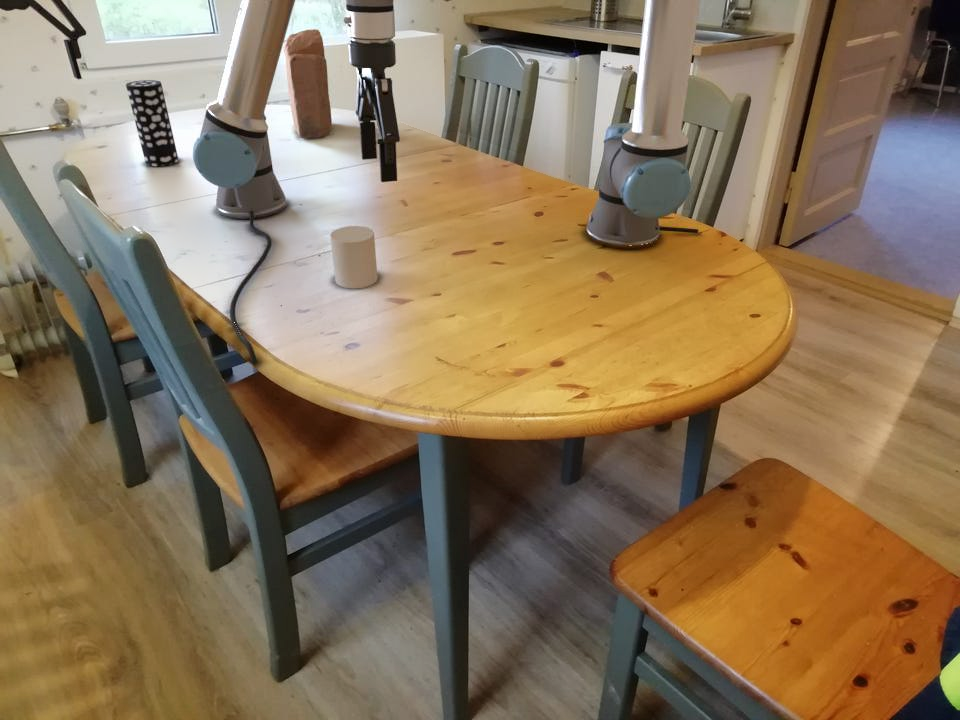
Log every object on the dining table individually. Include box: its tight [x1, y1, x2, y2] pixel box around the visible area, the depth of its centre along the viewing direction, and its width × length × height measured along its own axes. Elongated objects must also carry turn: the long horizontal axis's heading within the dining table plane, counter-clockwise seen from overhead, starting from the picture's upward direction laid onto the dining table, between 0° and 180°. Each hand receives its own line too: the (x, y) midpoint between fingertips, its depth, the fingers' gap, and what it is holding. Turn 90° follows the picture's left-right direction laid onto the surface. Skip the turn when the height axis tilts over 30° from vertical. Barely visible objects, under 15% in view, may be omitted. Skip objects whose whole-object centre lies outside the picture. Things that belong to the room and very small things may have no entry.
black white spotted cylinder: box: [125, 79, 179, 167], centre depth 181 cm, size 8×8×20 cm
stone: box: [282, 28, 333, 139], centre depth 208 cm, size 22×11×28 cm, turn 18°
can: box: [329, 225, 378, 290], centre depth 125 cm, size 8×8×9 cm
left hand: (38, 82), depth 127 cm, fingers open, 13 cm apart
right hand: (378, 169), depth 123 cm, fingers open, 13 cm apart
